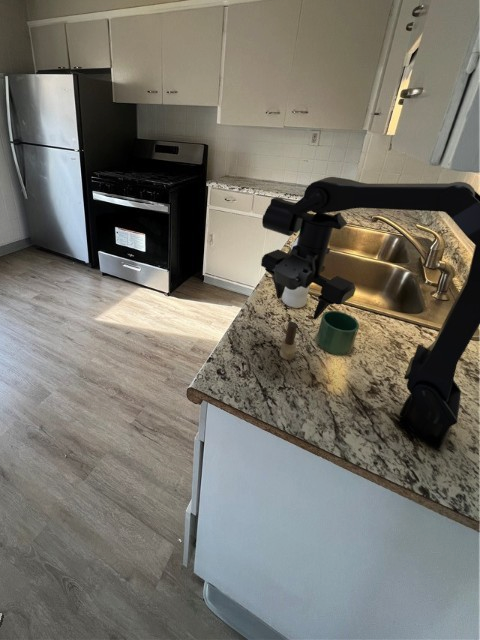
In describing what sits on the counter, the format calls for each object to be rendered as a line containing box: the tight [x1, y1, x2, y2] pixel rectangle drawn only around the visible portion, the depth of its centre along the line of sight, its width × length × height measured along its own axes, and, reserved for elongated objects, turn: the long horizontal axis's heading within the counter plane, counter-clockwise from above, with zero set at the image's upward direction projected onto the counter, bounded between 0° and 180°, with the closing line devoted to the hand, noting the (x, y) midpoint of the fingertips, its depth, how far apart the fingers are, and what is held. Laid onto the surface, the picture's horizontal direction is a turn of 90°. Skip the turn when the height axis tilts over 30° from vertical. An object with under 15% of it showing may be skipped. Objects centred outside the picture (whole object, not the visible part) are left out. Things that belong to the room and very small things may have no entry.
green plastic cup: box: [316, 310, 360, 356], centre depth 77 cm, size 8×8×7 cm
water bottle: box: [281, 228, 311, 309], centre depth 89 cm, size 7×7×25 cm
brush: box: [279, 321, 298, 361], centre depth 72 cm, size 3×3×9 cm
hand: (296, 307), depth 68 cm, fingers open, 9 cm apart
